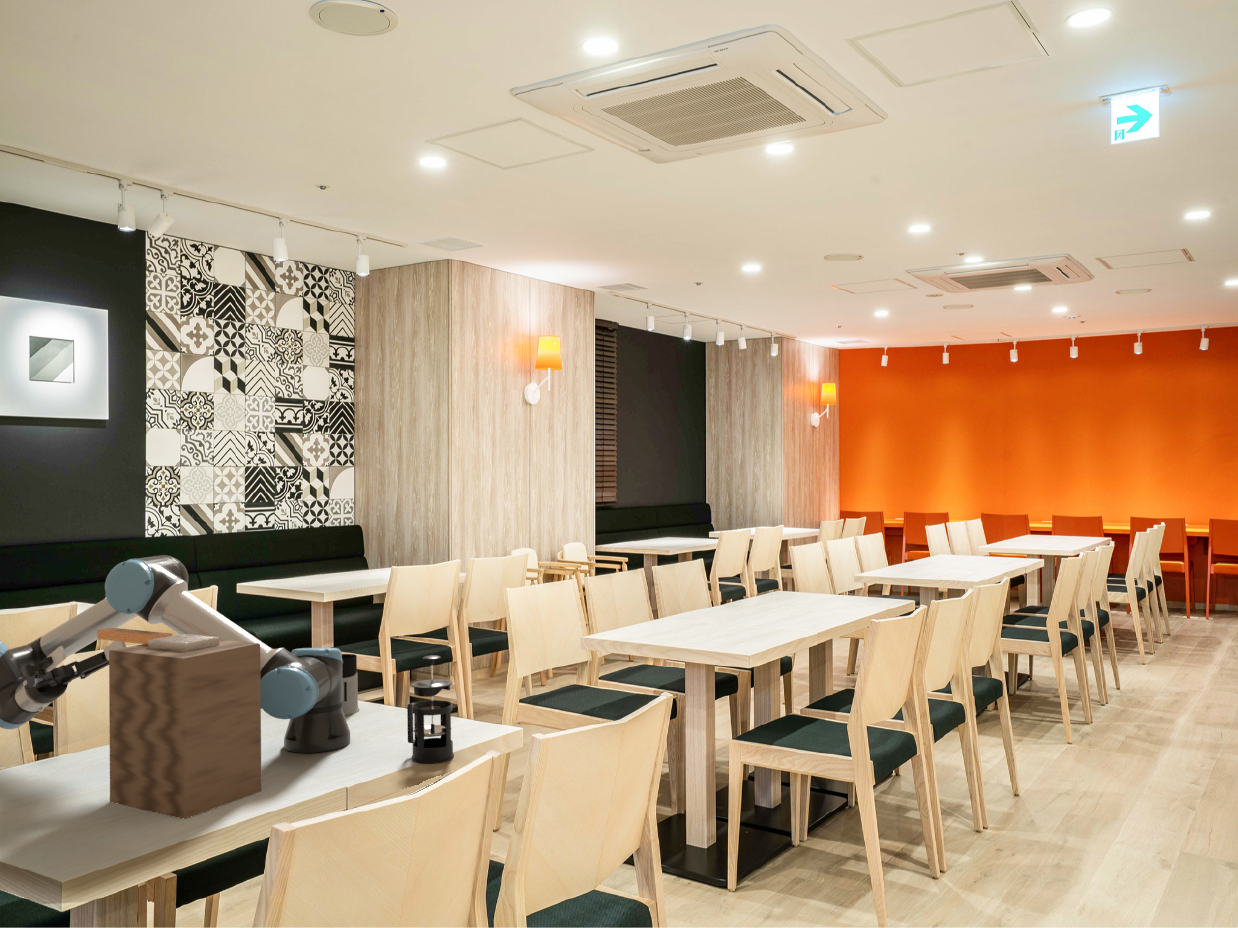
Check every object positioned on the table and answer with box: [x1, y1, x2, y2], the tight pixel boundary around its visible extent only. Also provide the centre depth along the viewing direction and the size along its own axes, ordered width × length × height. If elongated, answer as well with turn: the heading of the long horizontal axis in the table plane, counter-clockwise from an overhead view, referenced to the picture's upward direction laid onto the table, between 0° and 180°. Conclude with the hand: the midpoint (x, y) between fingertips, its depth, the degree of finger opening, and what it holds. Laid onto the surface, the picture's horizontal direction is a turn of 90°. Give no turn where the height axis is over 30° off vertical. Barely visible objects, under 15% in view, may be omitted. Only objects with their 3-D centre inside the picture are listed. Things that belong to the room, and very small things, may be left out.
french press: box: [406, 654, 455, 765], centre depth 216 cm, size 12×9×23 cm
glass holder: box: [342, 653, 360, 716], centre depth 258 cm, size 9×14×15 cm, turn 2°
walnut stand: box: [108, 639, 262, 820], centre depth 192 cm, size 22×18×30 cm
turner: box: [97, 627, 219, 652], centre depth 197 cm, size 31×8×2 cm, turn 62°
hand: (93, 646), depth 205 cm, fingers open, 13 cm apart
